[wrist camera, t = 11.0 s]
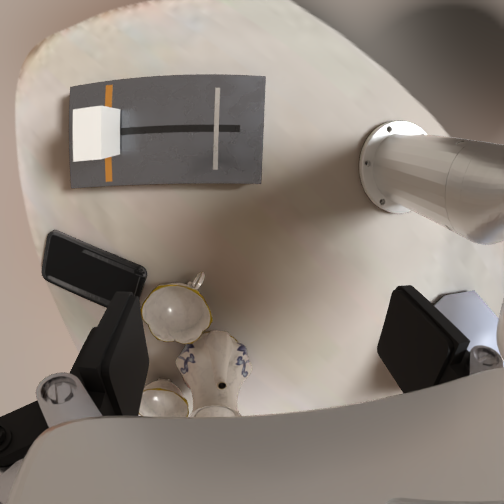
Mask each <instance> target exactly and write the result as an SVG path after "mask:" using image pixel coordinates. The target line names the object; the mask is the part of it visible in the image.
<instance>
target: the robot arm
mask: <svg viewBox="0 0 504 504" xmlns="http://www.w3.org/2000/svg"><path fill="white" fill-rule="evenodd" d="M386 129H387V130H386ZM365 161H366V164H365ZM359 173H360V178H361V183H362V186H363V188H364V191H365V192H366V194H367V196H368V197H369V199H370V200H371V201H372V202H373V203H374V204H375V205H377V206H378V207H380V208H381V209H383V210H385V211H387V212H390V213H394V214H404V213H409V212H411V211H414V212H416V213H418V214H420V215H422V216H424V217H426V218H428V219H430V220H432V221H434V222H436V223H438V224H440V225H442V226H444V227H446V228H447V229H449V230H451V231H453V232H455V233H457V234H459V235H461V236H462V237H464V238H466V239H468V240H470V241H472V242H475V243H478V244H483V245H491V244H496V243H499V242H502V241H504V145H501V144H494V143H488V142H481V141H474V140H467V139H459V138H452V137H444V136H435V135H427V134H426V132H424V131H423V130H422V129H421V128H420V127H418V126H417V125H415V124H413V123H410V122H407V121H391V122H387V123H384V124H382V125H380V126H379V127H377V128H376V129H375V130H374V131H373V132H372V133H371V134H370V135H369V137H368V138H367V140H366V142H365V144H364V146H363V148H362V151H361V155H360V162H359ZM380 200H381V201H380ZM496 340H497V347H498V349H499V352H500V354H499V353H498V352H497V351H495V350H494V349H492V348H490V347H487V346H483V345H477V346H474V347H473V348H472V349H471V350H470V352H469V351H468V350H467V348H468V346H469V343H470V340H469V339H468V338H467V337H466V336H465V335H464V334H463V333H462V332H461V331H460V330H459V329H458V328H457V327H456V326H455V325H454V324H453V323H452V322H451V321H450V320H449V319H447V318H446V317H445V316H444V315H443V314H442V313H441V312H440V311H439V310H438V309H437V308H436V307H435V306H434V305H433V304H432V303H430V302H429V301H428V300H427V299H426V298H425V297H424V296H423V295H422V294H421V293H420V292H418V291H417V290H416V289H415V288H414V287H413V286H411V285H408V286H398V287H397V288H396V289H395V290H394V291H393V292H392V295H391V299H390V303H389V307H388V311H387V314H386V318H385V322H384V325H383V329H382V332H381V336H380V339H379V343H378V346H377V352H378V354H379V356H380V358H381V359H382V361H383V362H384V364H385V365H386V367H387V368H388V370H389V371H390V373H391V374H392V376H393V378H394V379H395V381H396V382H397V384H398V385H399V387H400V388H401V390H402V392H403V393H404V394H399V395H395V396H390V397H386V398H381V399H376V400H371V401H366V402H360V403H355V404H349V405H343V406H336V407H330V408H323V409H315V410H307V411H299V412H289V413H279V414H267V415H253V416H233V417H153V416H138V414H139V409H140V404H141V399H142V395H143V390H144V385H145V380H146V376H147V371H148V367H149V357H148V351H147V346H146V340H145V334H144V328H143V322H142V316H141V309H140V302H139V298H138V296H134V295H133V293H132V292H116V293H115V295H114V296H113V298H112V300H111V302H110V304H109V306H108V308H107V309H106V311H105V313H104V315H103V317H102V319H101V321H100V323H99V325H98V327H94V328H93V329H92V330H91V332H90V333H89V335H88V337H87V339H86V341H85V343H84V345H83V347H82V349H81V351H80V353H79V355H78V357H77V359H76V361H75V363H74V365H73V367H72V369H71V371H70V373H56V374H51V375H49V376H48V377H46V378H44V379H43V380H42V381H41V382H40V383H39V385H38V386H37V389H36V397H37V401H35V402H33V403H31V404H29V405H26V406H24V407H22V408H20V409H17V410H15V411H13V412H11V413H8V414H6V415H4V416H2V417H0V504H504V367H503V360H502V358H503V359H504V300H503V304H502V307H501V311H500V315H499V320H498V324H497V332H496ZM500 355H501V356H502V357H501V356H500Z"/></svg>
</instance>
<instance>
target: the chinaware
mask: <svg viewBox="0 0 504 504" xmlns="http://www.w3.org/2000/svg"><path fill="white" fill-rule="evenodd" d="M199 278H200V279H199ZM204 278H205V274H204V273H203V272H200V273H199V274H198V275H197V276H196V277H195V279H194V281H193V283H192V282H191V281H190V282H188V283H187V285H186V284H183V283H170V284H166V285H159V286H157V287H156V288H155V289H154V290H153V291H152V292H151V293H150V294H149V297H147V299H146V300H145V301H144V303H143V305H142V307H141V316H142V319H143V320H144V322H145V323H146V324H149V325H148V327H149V329H150V331H151V333H152V335H153V336H154V337H155V338H156V339H157V340H161V341H164V342H172V341H174V340H176V342H179V343H181V344H186V346H185V348H184V349H183V351H182V352H181V354H180V355H179V356H178V358H177V359H176V366H177V368H178V369H179V371H180V372H181V374H182V376H183V379H184V382H185V384H186V385H187V386H188V387H189V388H190V389H191V392H192V396H193V411H192V413H191V414H190V417H233V416H241V414H240V413H239V411H238V408H237V397H238V393H239V390H240V387H241V385H242V383H243V382H244V381H245V380H246V379H247V377H248V376H249V375H250V373H251V371H252V365H251V363H250V361H249V358H248V354H247V349H246V347H245V346H244V345H243V344H241V343H239V342H238V341H237V340H236V339H235V338H233V337H232V336H230V335H229V333H228V332H226V331H216V330H212V331H210V332H204V333H203V331H205V330H206V329H208V328H209V327H210V325H211V323H212V321H213V317H212V314H211V311H210V309H209V307H208V305H207V304H206V301H205V299H204V298H203V296H202V295H201V294H200V292H199V291H198V289H199V287H200V286H201V285H202V283H203V281H204ZM198 279H199V281H198ZM197 281H198V283H197V285H195V284H196V282H197ZM193 287H194V288H193ZM158 379H159V380H158V381H154V382H151V383H150V384H148V385H147V386H146V387H145V388H144V390H143V395H142V399H141V404H140V409H139V415H141V416H153V417H188V414H189V409H188V402H187V400H186V398H184V396H183V394H182V392H181V390H180V389H179V388H178V387H177V386H176V385H174V384H173V383H172V382H171V381H170V379H160V378H158Z"/></svg>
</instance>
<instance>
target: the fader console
mask: <svg viewBox="0 0 504 504" xmlns="http://www.w3.org/2000/svg"><path fill="white" fill-rule="evenodd" d="M265 79H266V76H249V75H170V76H153V77H141V78H130V79H121V80H112V81H105V82H97V83H91V84H85V85H79V86H73V87H70V105H69V154H70V176H71V188H83V187H99V186H117V185H141V184H178V183H245V184H261V176H262V152H263V129H264V104H265ZM94 106H106V107H111V108H116V109H120V154H119V155H116V156H112V157H108V158H104V159H98V160H87V161H76V162H73V109H80V108H87V107H94Z"/></svg>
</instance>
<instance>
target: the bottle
mask: <svg viewBox="0 0 504 504" xmlns="http://www.w3.org/2000/svg"><path fill="white" fill-rule="evenodd" d="M434 306H435V307H436V308H437V309H438V310H439V311H440V312H441V313H442V314H443V315H444V316H445V317H446V318H447V319H449V320H450V321H451V322H452V323H453V324H454V325H455V326H456V327H457V328H458V329H459V330H460V331H461V332H462V333H463V334H464V335H465V336H466V337H467V338H468V339H469V340H470V343H469V346H468V348H467V350H468V351H469V352H470V350H471V349H472V348H473V347H474V346H477V345H483V346H487V347H490V348H492V349H494V350H495V351H497V352H498V353H499V354H500V352H499V349H498V347H497V340H496V332H497V324H498V320H499V319H498V317H497V316H496V315H495V314H494V313H493V311H492V310H491V309H490V308H489V307H488V305H487V304H486V303H485V302H484V301H483V300H482V298H481V297H480V296H479V295H478V294H477V293H476V292H475V290H473V291H468V292H462V293H456V294H450V295H445V296H443V297H442V298H441V299H440V300H439V301H438V302H437V303H436V304H434ZM500 356H501V355H500ZM503 367H504V361H503Z"/></svg>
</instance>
